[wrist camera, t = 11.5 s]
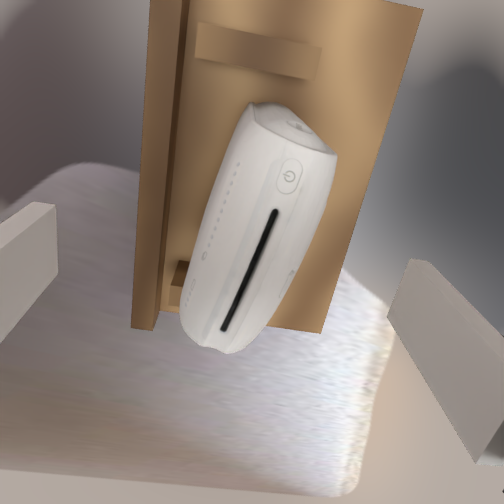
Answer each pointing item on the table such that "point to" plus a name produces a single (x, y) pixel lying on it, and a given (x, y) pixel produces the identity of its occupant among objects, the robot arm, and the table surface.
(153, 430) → the table surface
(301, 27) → the ledge shelf
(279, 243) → the photo printer
